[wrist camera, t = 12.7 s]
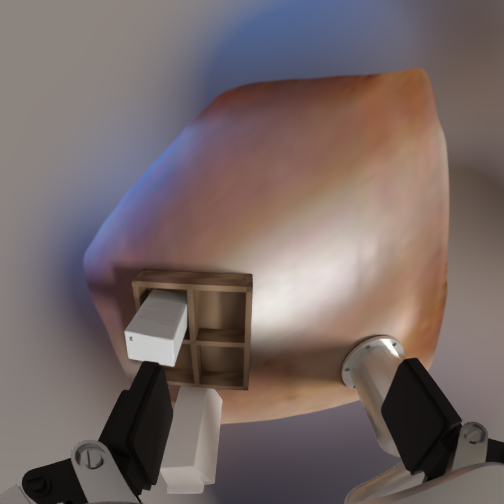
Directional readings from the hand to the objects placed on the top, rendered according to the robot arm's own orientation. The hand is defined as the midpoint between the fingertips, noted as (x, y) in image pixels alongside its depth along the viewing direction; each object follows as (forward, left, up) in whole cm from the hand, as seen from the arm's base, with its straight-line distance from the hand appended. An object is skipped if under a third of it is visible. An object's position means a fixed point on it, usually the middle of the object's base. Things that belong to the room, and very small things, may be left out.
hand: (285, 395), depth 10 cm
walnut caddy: (+9, +16, -30) cm, 35 cm away
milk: (+9, +31, -31) cm, 45 cm away
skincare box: (+12, +11, -30) cm, 34 cm away
